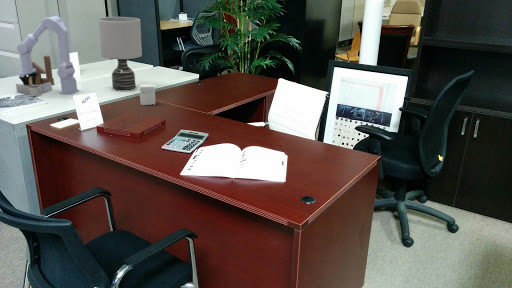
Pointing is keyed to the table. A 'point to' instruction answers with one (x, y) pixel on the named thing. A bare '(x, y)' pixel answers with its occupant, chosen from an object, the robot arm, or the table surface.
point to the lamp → (121, 47)
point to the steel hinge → (34, 89)
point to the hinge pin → (30, 80)
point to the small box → (147, 94)
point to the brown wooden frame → (43, 72)
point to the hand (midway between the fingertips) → (30, 86)
